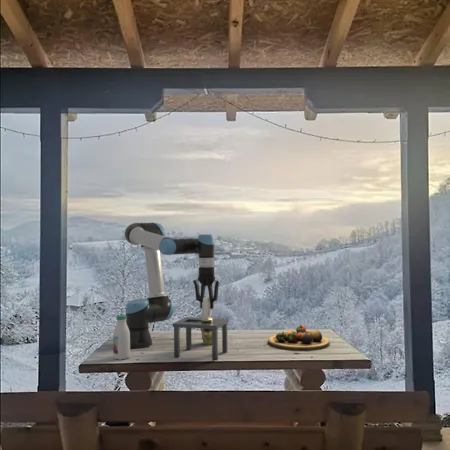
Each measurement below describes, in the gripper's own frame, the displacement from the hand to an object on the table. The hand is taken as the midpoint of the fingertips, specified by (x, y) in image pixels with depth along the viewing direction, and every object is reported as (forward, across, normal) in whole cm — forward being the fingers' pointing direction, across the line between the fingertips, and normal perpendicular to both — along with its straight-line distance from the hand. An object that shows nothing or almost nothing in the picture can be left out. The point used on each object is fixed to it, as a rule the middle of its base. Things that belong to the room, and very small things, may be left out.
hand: (206, 315), depth 236 cm
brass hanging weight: (+11, 0, 0) cm, 11 cm away
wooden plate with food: (+20, +38, +36) cm, 56 cm away
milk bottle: (+19, -37, -16) cm, 45 cm away
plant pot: (+19, -7, +22) cm, 30 cm away
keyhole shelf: (+19, -3, 0) cm, 19 cm away
